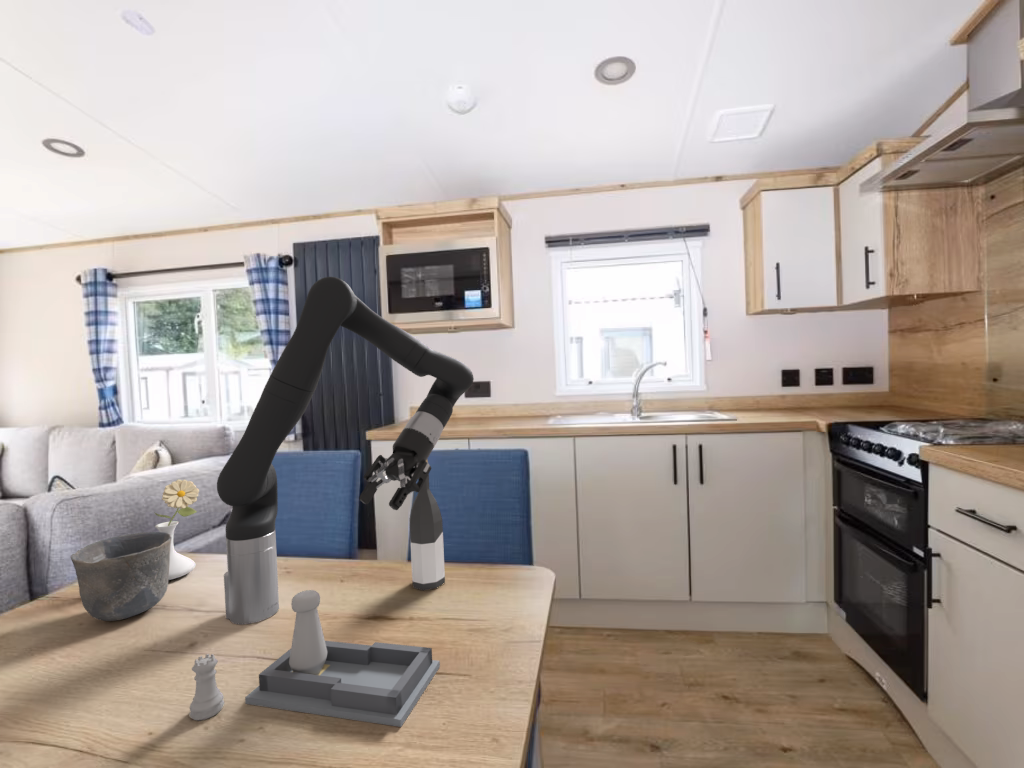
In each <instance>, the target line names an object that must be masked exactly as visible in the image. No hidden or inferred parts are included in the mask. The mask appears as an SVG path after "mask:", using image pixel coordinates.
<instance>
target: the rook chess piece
mask: <svg viewBox="0 0 1024 768" xmlns="http://www.w3.org/2000/svg"><path fill="white" fill-rule="evenodd" d="M216 665H218V659H217V658H215V654H213V653H211V654H210V653H206V654H205V657H203V655H199V656H198V658H197V659H195V660H194V664H193V666H192V667H191V671H192V672H193V673H195V676H194V681H195V692H194V696H193V698H192V700H191V703H190V705H189V713H188V715H189V717H190V718H191V719H192V720H194V721H198V722H199V721H206V720H208V719H210V718H212V717H214V716H216V715H217V714H219V713H220V711H222V709H223V708H224V705H225V701H224V699H225V698H224V695H223V692H221V689H220V688H218V686H217V682H216V674H217V670H216V669H215V667H216Z"/></svg>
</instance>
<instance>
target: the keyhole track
mask: <svg viewBox="0 0 1024 768" xmlns="http://www.w3.org/2000/svg"><path fill="white" fill-rule="evenodd" d="M325 644H326V648H327V658H326V661H325V663H324V666H323V669H322V670H321V672H320V673H319V675H312V674H304V673H296V672H293V671H292V669H291V667H290V665H289V658H290V652H291V648H289V649H288V650H286V652H285V653H283V654H282V655H281V656H280V657H278V658H277V659H276V660H274V661H273V662H272V663H271V664H270V665H268V666H267V667H266V668H265V669H263V671H261V672H260V673H259V674H258V683H259V685H258V686H257V687H256V688H254V689H253V690H251V692H250V693H248V694H247V695H246V696H245V699H244V700H245V701H244V703H245V705H250V706H251V705H252V706H257V707H258V706H259V707H264V708H265V707H266V708H271V709H272V708H273V709H279V710H283V711H284V710H286V711H292V712H298V713H299V712H300V713H306V714H312V715H318V716H326V717H333V718H338V719H345V720H353V721H358V722H359V721H360V722H365V723H373V724H379V725H385V726H386V725H387V726H393V727H400V728H402V726H403V725H404V724H405V722H406V720H407V719H408V717H409V715H410V714H411V713H412V711H413V710H414V708H415V706H416V705H417V703H418V702H419V700H420V698H421V697H422V696H423V694H424V692H425V690H426V689H427V688H428V686H429V684H430V683H431V681H432V680H433V678H434V677H435V676H436V673H437V672H438V671H439V669H440V667H441V662H440V660H437V659H435V660H434V659H433V652H432V651H433V650H432V647H425V646H418V645H417V646H415V645H407V644H406V645H405V644H396V643H389V642H388V643H387V642H377V641H375V642H373V644H371V645H370V644H361V643H360V644H359V643H349V642H340V641H332V640H325Z"/></svg>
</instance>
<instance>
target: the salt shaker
mask: <svg viewBox="0 0 1024 768" xmlns="http://www.w3.org/2000/svg"><path fill="white" fill-rule="evenodd" d="M320 604H321V595H320V593H319V592H318V591H317V590H315V589H309V590H308V589H307V590H302V591H299V592H297V593H296V594H294V595H293V596H292V599H291V603H290V605H291V609H292V611H293V612H294V613H295V618H294V619H295V621H294V629H293V635H292V641H291V647H290V649H291V652H290V658H289V665H290V667H291V669H292V671H293V672H296V673H304V674H312V675H319V673H320V672H321V670H322V669H323V666H324V663H325V661H326V658H327V648H326V644H325V641H326V640H325V636H324V632H323V628H322V627H323V626H322V623H321V620H320V616H319V611H318V607H319V606H320Z"/></svg>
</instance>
